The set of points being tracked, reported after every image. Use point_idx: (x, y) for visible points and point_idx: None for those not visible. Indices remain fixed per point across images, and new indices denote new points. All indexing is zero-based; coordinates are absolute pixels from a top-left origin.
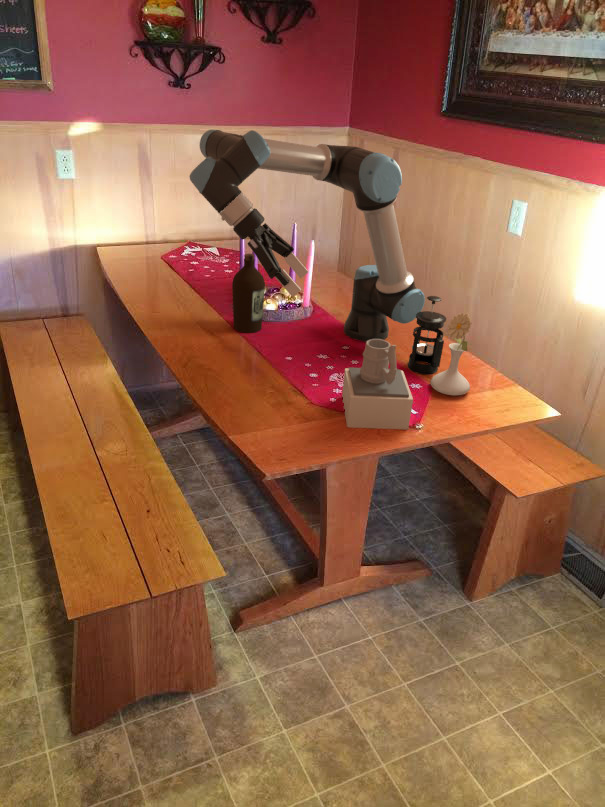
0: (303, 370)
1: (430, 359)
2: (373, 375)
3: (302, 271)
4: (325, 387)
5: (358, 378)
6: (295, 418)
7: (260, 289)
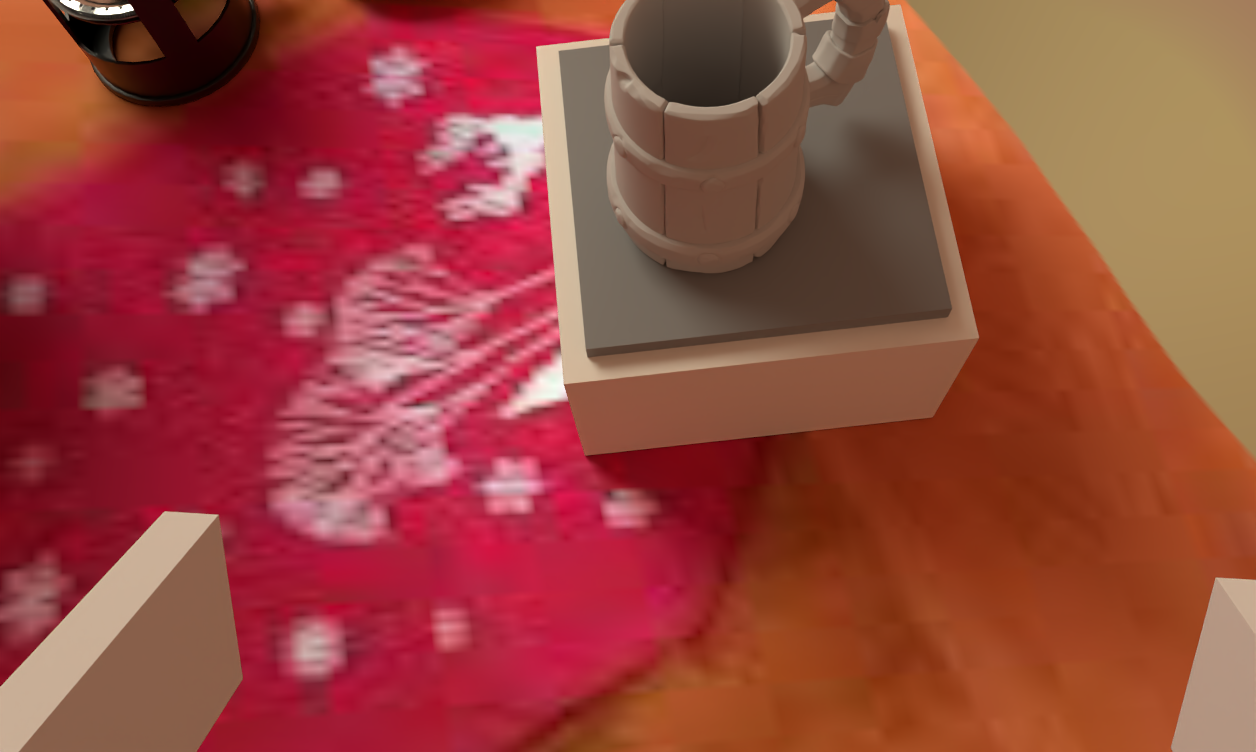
0: (248, 723)
1: None
2: (798, 172)
3: (192, 629)
4: (476, 560)
5: (740, 288)
6: (911, 729)
7: None
